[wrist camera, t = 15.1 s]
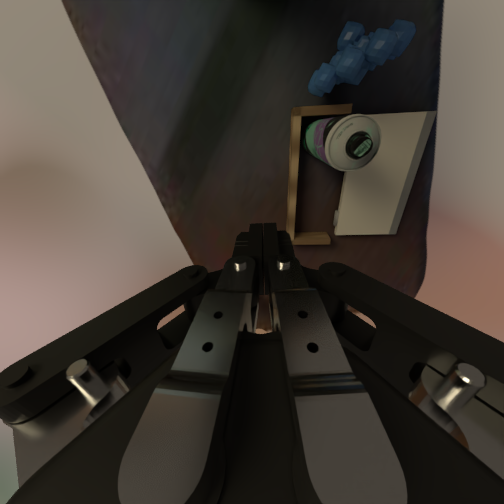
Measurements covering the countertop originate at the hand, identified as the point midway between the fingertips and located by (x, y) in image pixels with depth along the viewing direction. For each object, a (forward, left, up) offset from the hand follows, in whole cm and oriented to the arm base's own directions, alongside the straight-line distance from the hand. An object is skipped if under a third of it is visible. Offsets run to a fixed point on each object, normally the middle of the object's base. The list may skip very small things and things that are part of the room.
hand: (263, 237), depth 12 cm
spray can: (-4, +10, -32) cm, 33 cm away
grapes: (-13, +12, -32) cm, 36 cm away
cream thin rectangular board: (+4, +15, -30) cm, 33 cm away
